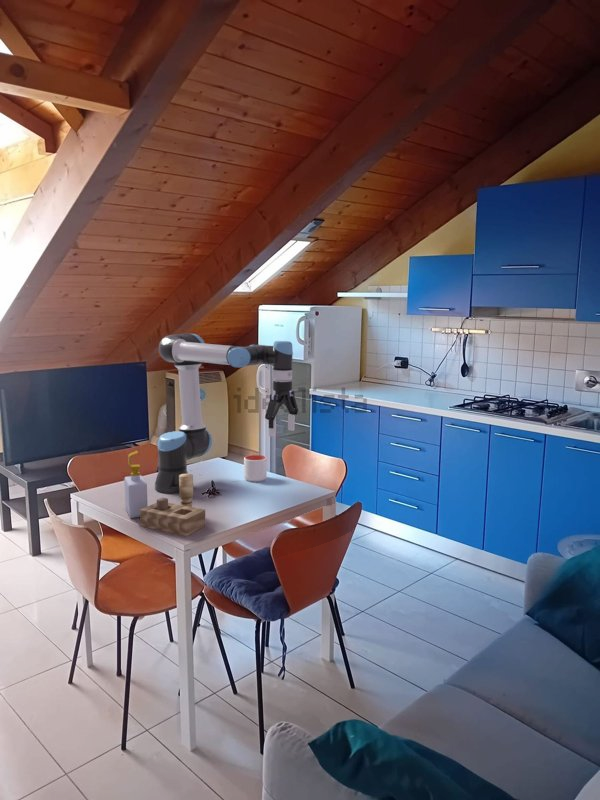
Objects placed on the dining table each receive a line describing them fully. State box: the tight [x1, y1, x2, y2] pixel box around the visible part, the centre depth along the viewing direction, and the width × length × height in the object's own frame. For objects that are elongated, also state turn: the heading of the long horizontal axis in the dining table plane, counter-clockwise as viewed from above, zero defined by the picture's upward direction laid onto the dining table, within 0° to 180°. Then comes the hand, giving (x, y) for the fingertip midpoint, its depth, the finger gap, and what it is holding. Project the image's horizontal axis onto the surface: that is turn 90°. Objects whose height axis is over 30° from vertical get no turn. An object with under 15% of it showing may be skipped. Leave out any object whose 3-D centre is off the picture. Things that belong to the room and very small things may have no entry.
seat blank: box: [139, 497, 206, 537], centre depth 219 cm, size 20×11×9 cm, turn 64°
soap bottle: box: [123, 450, 149, 519], centre depth 231 cm, size 12×7×23 cm, turn 23°
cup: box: [243, 454, 268, 483], centre depth 277 cm, size 10×10×10 cm
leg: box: [178, 473, 194, 507], centre depth 230 cm, size 5×5×15 cm
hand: (281, 433), depth 248 cm, fingers open, 13 cm apart
